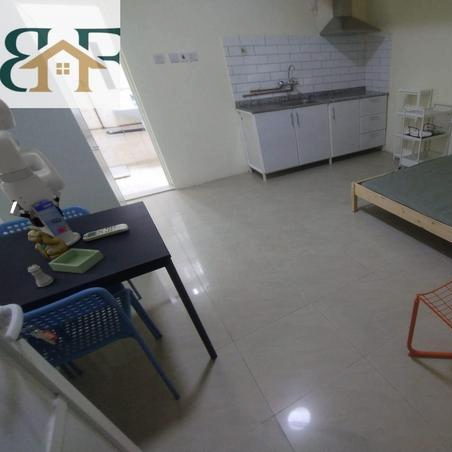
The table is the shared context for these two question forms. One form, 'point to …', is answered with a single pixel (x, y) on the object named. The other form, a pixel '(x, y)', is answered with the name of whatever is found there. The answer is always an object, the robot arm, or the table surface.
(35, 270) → the rook chess piece
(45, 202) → the ink cartridge box
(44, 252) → the decorative figurine
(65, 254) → the open rectangular box
